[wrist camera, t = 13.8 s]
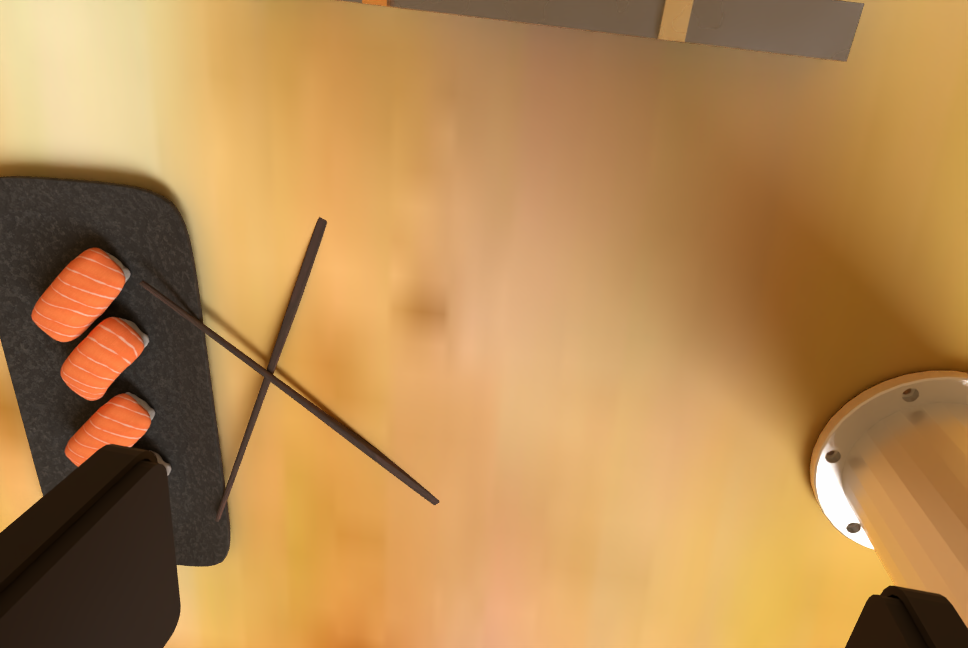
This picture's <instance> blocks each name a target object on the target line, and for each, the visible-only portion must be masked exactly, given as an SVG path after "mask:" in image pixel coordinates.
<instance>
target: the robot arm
mask: <svg viewBox="0 0 968 648" xmlns="http://www.w3.org/2000/svg"><path fill="white" fill-rule="evenodd" d="M810 480H811V485H812V489H813V492H814V495H815V498H816V500H817V502H818V504H819V506H820V508H821V510H822V512H823V513H824V515H825V516H826V517H827V519H828V520H829V521H830V522H831V524H832V525H833V526H834V527H835V528H836V529H837V530H838V531H840V532H841V533H842V534H843V535H844V536H846V537H847V538H849V539H851V540H853V541H855V542H857V543H858V544H860V545H862V546H865V547H868V548H871V549H873V550H875V552H876V553H877V555H878V557H879V559H880V560H881V562H882V564H883V566H884V567H885V569H886V571H887V573H888V575H889V576H890V578H891V580H892V582H893V583H894V585H895V586H889V587H887V588H886V589H884V590H883V592H882V593H881V595H872V596H871V597H869V599H868V600H867V602H866V604H865V606H864V608H863V610H862V612H861V615H860V617H859V619H858V621H857V623H856V625H855V627H854V630H853V632H852V634H851V636H850V638H849V640H848V642H847V645H846V647H845V648H968V373H966V372H959V371H925V372H918V373H912V374H906V375H903V376H900V377H897V378H893V379H890V380H887V381H884V382H882V383H880V384H878V385H876V386H874V387H872V388H870V389H868V390H866V391H864V392H862V393H861V394H859V395H858V396H856V397H855V398H853V399H852V400H851V401H849V402H848V403H846V404H845V405H844V406H843V407H842V408H841V409H840V410H839V411H838V412H837V413H836V414H835V415H834V416H833V417H832V418H831V419H830V421H829V422H828V423H827V425H826V426H825V428H824V429H823V430H822V432H821V433H820V435H819V438H818V440H817V442H816V444H815V447H814V449H813V453H812V458H811V463H810ZM180 606H181V605H180V595H179V585H178V575H177V565H176V555H175V546H174V536H173V526H172V516H171V506H170V496H169V486H168V476H167V470H166V468H165V466H164V465H163V464H159V463H158V461H157V457H156V455H155V454H154V453H153V452H151V451H149V450H144V449H138V448H133V447H127V446H121V445H116V444H108V445H105V446H103V447H102V448H100V449H99V450H98V451H96V452H95V453H94V454H93V455H92V456H91V457H89V458H88V459H87V460H86V461H85V462H83V463H82V464H81V465H80V466H79V467H78V468H76V469H75V470H74V471H73V472H72V473H70V474H69V475H68V476H67V477H66V478H65V479H63V480H62V481H61V482H60V483H59V484H58V485H56V486H55V487H54V488H53V489H52V490H50V491H49V492H48V493H47V494H46V495H45V496H43V497H42V498H41V499H40V500H39V501H38V502H36V503H35V504H34V505H33V506H32V507H30V508H29V509H28V510H27V511H26V512H25V513H23V514H22V515H21V516H20V517H19V518H17V519H16V520H15V521H14V522H13V523H12V524H10V525H9V526H8V527H7V528H6V529H5V530H3V531H2V532H1V533H0V648H163V647H164V646H165V644H166V643H167V641H168V640H169V638H170V637H171V635H172V634H173V632H174V630H175V628H176V626H177V623H178V620H179V616H180Z"/></svg>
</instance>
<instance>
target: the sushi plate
mask: <svg viewBox="0 0 968 648" xmlns="http://www.w3.org/2000/svg"><path fill="white" fill-rule="evenodd" d="M326 224H327V221H326V220H324V219H322V218H319V219H318V221H317V224H316V227H315V229H314V232H313V235H312V238H311V241H310V244H309V247H308V249H307V252H306V255H305V258H304V261H303V264H302V267H301V270H300V273H299V276H298V279H297V282H296V284H295V287H294V290H293V293H292V296H291V299H290V302H289V305H288V308H287V311H286V314H285V317H284V320H283V323H282V326H281V329H280V332H279V335H278V338H277V341H276V344H275V347H274V350H273V353H272V356H271V359H270V362H269V364H268V367H267V370H266V369H264V368H263V367H262V366H260V365H259V364H257V363H256V362H255V361H253V360H252V359H251V358H249V357H248V356H246V355H245V354H244V353H242V352H241V351H240V350H238V349H237V348H236V347H234V346H233V345H231V344H230V343H229V342H227V341H226V340H225V339H223V338H222V337H221V336H219V335H218V334H216V333H215V332H214V331H212V330H211V329H210V328H208V327H207V326H206V325H204V324H203V318H202V310H201V303H200V296H199V289H198V282H197V275H196V269H195V263H194V257H193V252H192V247H191V243H190V239H189V235H188V232H187V229H186V226H185V223H184V221H183V219H182V217H181V214H180V212H179V211H178V210H177V208H176V207H175V205H174V204H173V203H172V202H171V201H169V200H168V199H166V198H165V197H164V196H162V195H160V194H157V193H155V192H153V191H150V190H146V189H143V188H139V187H134V186H128V185H122V184H114V183H105V182H95V181H84V180H72V179H58V178H45V177H23V176H10V177H0V339H1V342H2V346H3V350H4V354H5V357H6V361H7V365H8V368H9V372H10V376H11V379H12V383H13V387H14V391H15V394H16V398H17V402H18V405H19V409H20V413H21V416H22V420H23V424H24V428H25V431H26V435H27V439H28V442H29V446H30V450H31V453H32V457H33V461H34V465H35V468H36V472H37V476H38V479H39V483H40V486H41V490H42V493H43V496H45V495H46V494H47V493H48V492H49V491H50V490H52V489H53V488H54V487H55V486H56V485H58V484H59V483H60V482H61V481H62V480H63V479H65V478H66V477H67V476H68V475H69V474H70V473H72V472H73V471H74V470H75V469H76V468H78V467H79V466H80V465H81V464H82V463H83V462H85V461H86V460H87V459H88V458H89V457H91V456H92V455H93V454H94V453H95V452H96V451H98V450H99V449H100V448H102V447H103V446H105V445H108V444H116V445H121V446H127V447H133V448H138V449H144V450H149V451H151V452H153V453H154V454H155V455H156V457H157V461H158V463H159V464H163V465H164V466H165V468H166V470H167V476H168V486H169V496H170V506H171V516H172V526H173V536H174V546H175V555H176V565H184V566H212V565H216V564H218V563H221V562H223V560H224V559H225V557H226V556H227V554H228V551H229V547H230V522H229V513H228V504H227V499H228V496H229V494H230V491H231V488H232V485H233V483H234V480H235V477H236V474H237V472H238V469H239V466H240V463H241V461H242V458H243V455H244V452H245V450H246V447H247V444H248V441H249V439H250V436H251V433H252V431H253V428H254V425H255V422H256V420H257V417H258V414H259V411H260V409H261V406H262V403H263V400H264V398H265V395H266V392H267V390H268V387H269V384H270V382H272V383H273V384H274V385H276V386H277V387H278V388H280V389H281V390H282V391H284V392H285V393H286V394H288V395H289V396H290V397H292V398H293V399H294V400H296V401H297V402H298V403H300V404H301V405H302V406H303V407H305V408H306V409H307V410H309V411H310V412H311V413H313V414H314V415H315V416H317V417H318V418H319V419H320V420H322V421H323V422H324V423H326V424H327V425H328V426H330V427H331V428H332V429H334V430H335V431H336V432H337V433H339V434H340V435H341V436H343V437H344V438H345V439H347V440H348V441H349V442H351V443H352V444H353V445H354V446H356V447H357V448H358V449H360V450H361V451H362V452H364V453H365V454H366V455H368V456H369V457H370V458H372V459H373V460H374V461H376V462H377V463H378V464H380V465H381V466H382V467H384V468H385V469H386V470H388V471H389V472H390V473H392V474H393V475H394V476H396V477H397V478H398V479H400V480H401V481H402V482H404V483H405V484H406V485H408V486H409V487H410V488H412V489H413V490H414V491H416V492H417V493H418V494H420V495H421V496H422V497H424V498H425V499H426V500H428V501H429V502H431V503H432V504H433V505H436V504H438V503H439V500H438V499H436V498H435V497H434V496H433V495H432V494H431V493H429V492H428V491H427V490H426V489H425V488H423V487H422V486H421V485H420V484H419V483H417V482H416V481H415V480H414V479H413V478H411V477H410V476H409V475H408V474H407V473H405V472H404V471H403V470H402V469H401V468H399V467H398V466H397V465H396V464H395V463H393V462H392V461H391V460H390V459H388V458H387V457H386V456H385V455H384V454H382V453H381V452H380V451H378V450H377V449H376V448H374V447H373V446H372V445H370V444H369V443H367V442H366V441H365V440H363V439H362V438H360V437H359V436H358V435H356V434H355V433H353V432H352V431H351V430H349V429H348V428H346V427H345V426H344V425H342V424H341V423H339V422H338V421H337V420H335V419H334V418H332V417H331V416H330V415H328V414H327V413H325V412H324V411H323V410H321V409H320V408H318V407H317V406H315V405H314V404H313V403H311V402H310V401H308V400H307V399H306V398H304V397H303V396H301V395H300V394H299V393H297V392H296V391H295V390H293V389H292V388H290V387H289V386H288V385H286V384H285V383H283V382H282V381H281V380H279V379H278V378H277V377H275V376H274V375H273V373H274V371H275V368H276V365H277V362H278V360H279V357H280V354H281V352H282V349H283V346H284V344H285V341H286V338H287V336H288V333H289V330H290V328H291V325H292V322H293V320H294V317H295V314H296V312H297V309H298V306H299V303H300V301H301V298H302V295H303V292H304V289H305V286H306V283H307V281H308V278H309V275H310V272H311V269H312V266H313V263H314V260H315V257H316V254H317V251H318V248H319V246H320V243H321V240H322V237H323V234H324V231H325V227H326ZM205 333H206V334H207V335H208V336H210V337H211V338H212V339H214V340H215V341H216V342H218V343H219V344H221V345H222V346H223V347H225V348H226V349H227V350H229V351H230V352H231V353H233V354H234V355H235V356H237V357H238V358H239V359H241V360H242V361H243V362H245V363H246V364H247V365H249V366H250V367H251V368H253V369H254V370H256V371H257V372H258V373H260V374H261V375H262V376H264V379H263V382H262V385H261V388H260V391H259V394H258V397H257V400H256V403H255V405H254V408H253V411H252V414H251V417H250V420H249V423H248V426H247V429H246V431H245V434H244V437H243V440H242V443H241V446H240V449H239V452H238V455H237V457H236V460H235V463H234V466H233V469H232V472H231V475H230V478H229V480H228V483H227V486H226V489H225V481H224V474H223V466H222V459H221V452H220V444H219V437H218V429H217V422H216V414H215V407H214V400H213V392H212V385H211V377H210V370H209V362H208V355H207V348H206V340H205Z"/></svg>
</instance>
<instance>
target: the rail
mask: <svg viewBox="0 0 968 648" xmlns="http://www.w3.org/2000/svg"><path fill="white" fill-rule="evenodd" d="M337 1H346V2H354V3H362V4H371V5H379V6H387V7H395V8H404V9H412V10H420V11H428V12H437V13H445V14H453V15H461V16H470V17H478V18H486V19H495V20H503V21H511V22H519V23H528V24H536V25H544V26H552V27H561V28H569V29H577V30H585V31H594V32H602V33H610V34H618V35H627V36H635V37H643V38H652V39H660V40H668V41H676V42H685V43H693V44H701V45H709V46H718V47H726V48H734V49H742V50H751V51H759V52H767V53H775V54H784V55H792V56H800V57H809V58H817V59H825V60H835V61H847V58H848V55H849V52H850V48H851V45H852V42H853V39H854V35H855V32H856V29H857V26H858V23H859V19H860V16H861V13H862V10H863V6H864V3H855V2H846V1H837V0H337Z"/></svg>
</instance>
